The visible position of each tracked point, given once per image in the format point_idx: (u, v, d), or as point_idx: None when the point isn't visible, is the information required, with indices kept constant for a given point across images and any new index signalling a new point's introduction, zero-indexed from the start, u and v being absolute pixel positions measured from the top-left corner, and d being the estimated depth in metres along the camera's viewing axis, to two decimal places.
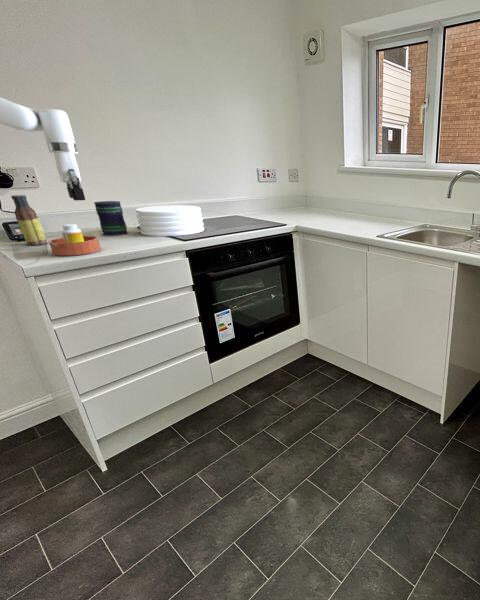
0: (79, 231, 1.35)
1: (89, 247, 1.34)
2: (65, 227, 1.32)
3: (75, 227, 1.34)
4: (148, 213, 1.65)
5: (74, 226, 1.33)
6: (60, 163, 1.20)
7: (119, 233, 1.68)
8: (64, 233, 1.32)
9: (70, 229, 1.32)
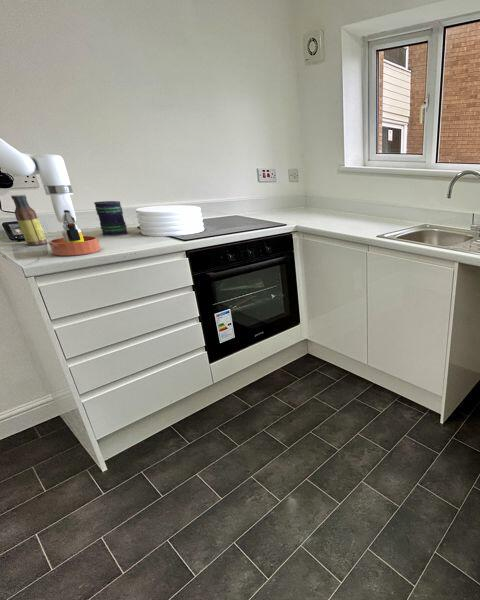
0: (79, 231, 1.35)
1: (89, 247, 1.34)
2: (65, 227, 1.32)
3: None
4: (148, 213, 1.65)
5: None
6: (56, 205, 1.26)
7: (119, 233, 1.68)
8: (64, 233, 1.32)
9: None
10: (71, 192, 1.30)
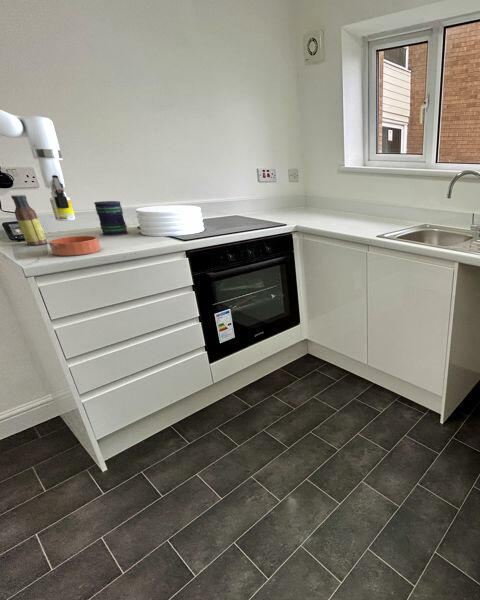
0: (68, 199, 1.30)
1: (89, 247, 1.34)
2: (53, 194, 1.27)
3: None
4: (148, 213, 1.65)
5: None
6: (44, 169, 1.22)
7: (119, 233, 1.68)
8: (52, 200, 1.27)
9: None
10: (60, 157, 1.25)
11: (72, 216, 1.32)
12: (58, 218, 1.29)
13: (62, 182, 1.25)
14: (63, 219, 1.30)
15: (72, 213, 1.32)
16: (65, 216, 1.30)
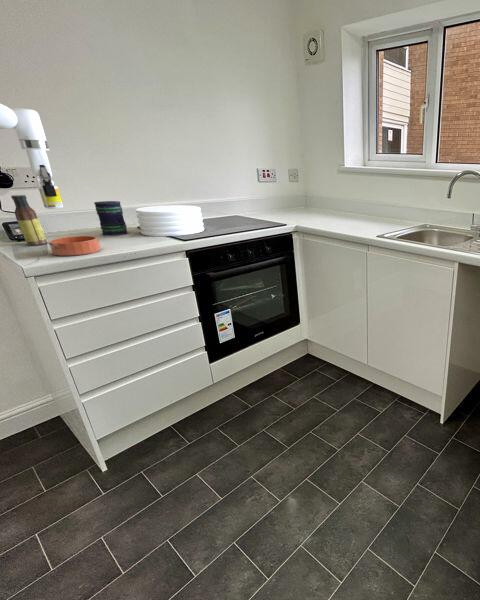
0: (56, 188, 1.37)
1: (89, 247, 1.34)
2: (41, 182, 1.34)
3: (52, 183, 1.36)
4: (148, 213, 1.65)
5: None
6: (31, 159, 1.28)
7: (119, 233, 1.68)
8: (40, 189, 1.34)
9: None
10: (47, 148, 1.32)
11: (60, 204, 1.39)
12: (47, 206, 1.36)
13: (49, 171, 1.32)
14: (51, 207, 1.37)
15: (60, 201, 1.39)
16: (53, 204, 1.37)
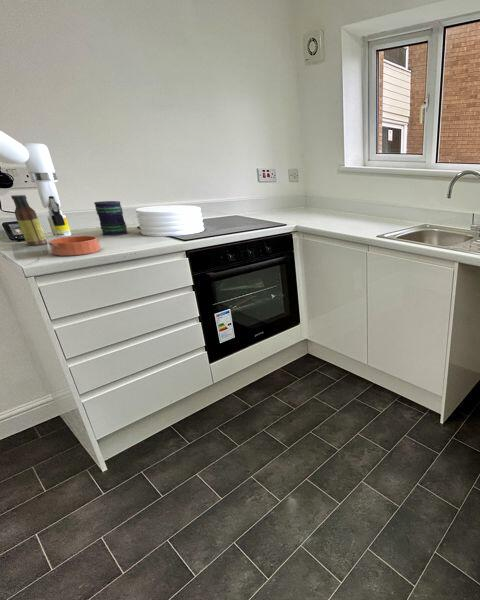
0: (64, 217, 1.42)
1: (89, 247, 1.34)
2: (50, 212, 1.39)
3: None
4: (148, 213, 1.65)
5: None
6: (41, 191, 1.33)
7: (119, 233, 1.68)
8: (49, 218, 1.39)
9: None
10: (55, 179, 1.37)
11: (68, 232, 1.44)
12: (55, 234, 1.41)
13: (58, 202, 1.37)
14: (60, 235, 1.42)
15: (68, 229, 1.44)
16: (62, 232, 1.42)
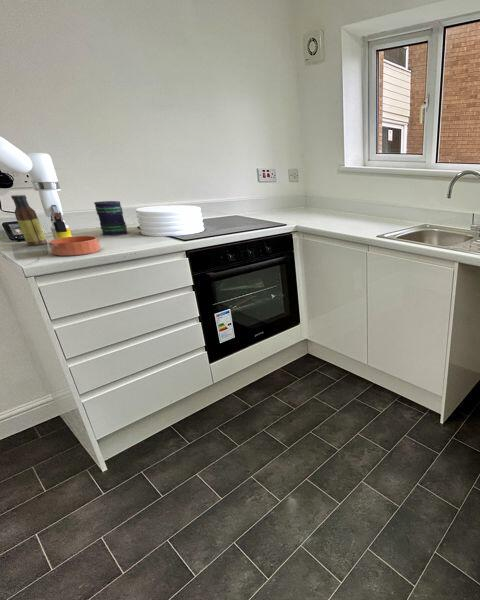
0: (67, 227, 1.43)
1: (89, 247, 1.34)
2: (53, 223, 1.40)
3: None
4: (148, 213, 1.65)
5: None
6: (44, 200, 1.34)
7: (119, 233, 1.68)
8: (53, 229, 1.41)
9: None
10: (58, 188, 1.38)
11: None
12: None
13: (60, 211, 1.38)
14: None
15: None
16: None
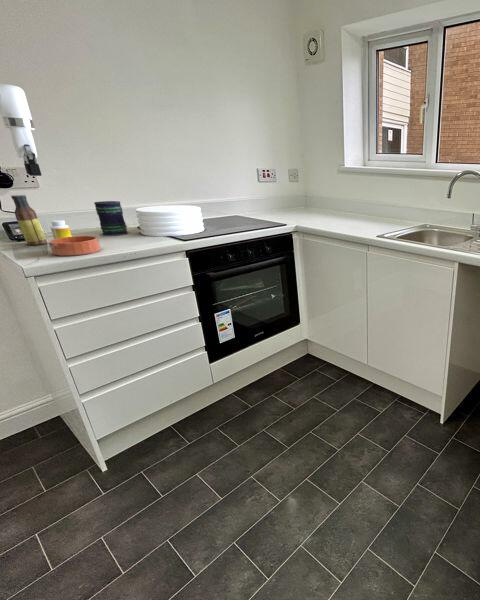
0: (67, 227, 1.43)
1: (89, 247, 1.34)
2: (53, 223, 1.40)
3: (63, 223, 1.42)
4: (148, 213, 1.65)
5: (62, 222, 1.42)
6: (15, 138, 1.22)
7: (119, 233, 1.68)
8: (53, 229, 1.41)
9: (58, 225, 1.41)
10: (32, 127, 1.26)
11: None
12: None
13: (34, 152, 1.26)
14: None
15: None
16: None
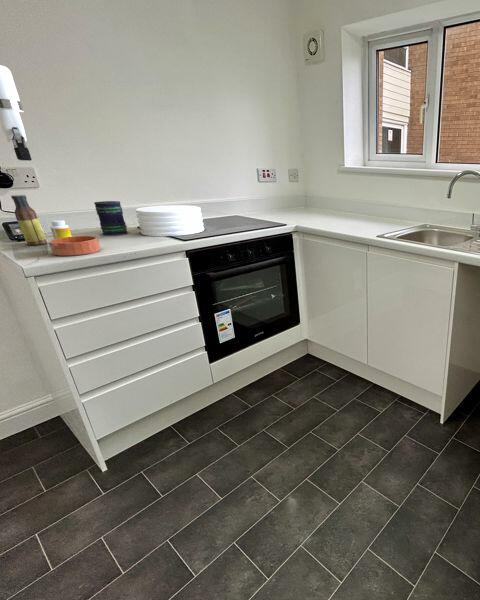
0: (67, 227, 1.43)
1: (89, 247, 1.34)
2: (53, 223, 1.40)
3: (63, 223, 1.42)
4: (148, 213, 1.65)
5: (62, 222, 1.42)
6: (3, 120, 1.17)
7: (119, 233, 1.68)
8: (53, 229, 1.41)
9: (58, 225, 1.41)
10: (20, 109, 1.21)
11: None
12: None
13: (23, 135, 1.21)
14: None
15: None
16: None
